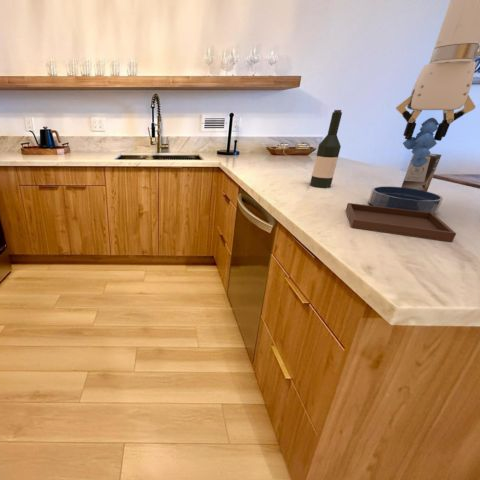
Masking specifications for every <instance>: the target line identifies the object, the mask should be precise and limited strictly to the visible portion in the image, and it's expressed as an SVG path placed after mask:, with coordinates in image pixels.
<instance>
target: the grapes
mask: <svg viewBox="0 0 480 480" xmlns="http://www.w3.org/2000/svg"><path fill="white" fill-rule="evenodd" d="M439 124H440V122H439V121H438V120H437V119H436V118H435V117H429V118H427V119H426V120H425V121H423V122H422V123H421V127H419V132H418V133H416V135H415V136H412V138H411V139H410V140H407V139H405V140H404V141H403V142H402V145H403V146H404V148H405V149H407V150H409V151H410V150H411V153H412V154H413V155H415V156H414V158H413V159H412V158H411V159H412V160H410V162H412V164H413V165H414V166H415V167H421V166H422V165H424V164H425V163H427V162H428V161H427V159H426V158H425V157H427V156H428V155H429V154H431V151H430V150H431V149H432V148H434V147H435V146H436V145H437V144H438V143H437V140H435V139H434V136H435V132H436V131H437V129H438V126H439Z"/></svg>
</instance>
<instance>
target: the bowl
mask: <svg viewBox="0 0 480 480" xmlns="http://www.w3.org/2000/svg"><path fill="white" fill-rule="evenodd" d="M443 200H444V198H443V196H441V195H440V194H437V193H434V192H432V191H431V192H430V191H428V190H427V191H423V190H418V189H412V188H404V187H401V186H392V185H391V186H389V185H387V186H385V185H384V186H375V187H373V188H372V189H371V191H370V195H369V198H368V203H369V205H371V206H379V207H388V208H397V209H406V210H414V211H423V212H432V213H433V214H435V215H436V214H437V213H438V211H439V209H440V207H441V204H442V202H443Z"/></svg>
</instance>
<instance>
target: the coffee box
mask: <svg viewBox="0 0 480 480" xmlns="http://www.w3.org/2000/svg"><path fill="white" fill-rule="evenodd" d="M414 156H415V155H414V154H413V155H412V156H411V160H412V159H413V158H414ZM441 157H442V154H437V153H430V154H429V155H428V156H427V157H425V158H426V159H427V161H428V162H427V163H425V164H424V165H422V166H421V167H415V166H414V165H413V164H412V162H411V160H410V162H409V165H408V168H407V171H406V173H405V175H404V179H403V181H402V184H401V186H400V187H404V188H412V189H418V190H423V191H427V192H428V190H429V187H430V186H431V183H432V180H433V177H434V175H435V172H436V170H437V168H438V165H439V162H440V159H441Z"/></svg>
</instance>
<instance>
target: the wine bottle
mask: <svg viewBox="0 0 480 480" xmlns="http://www.w3.org/2000/svg"><path fill="white" fill-rule="evenodd" d="M342 115H343V112H342V109H334V110H333V111H332V114H331V117H330V121H329V126H328V131H327V135H326V136H325V137H324V138H323V139H322V140H321V141H320V143H319V144H318V146H317V150H316V151H317V152H316V155H315V160H314V165H313V169H312V174H311V178H310V181H309V185H310V186H309V187H314V188H319V189H328V188H331V187H332V183H333V179H334V175H335V171H336V168H337V163H338V159H339V155H340V151H341V149H342V146H341V142H340V140H339V138H338V132H339V127H340V125H341V120H342Z"/></svg>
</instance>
